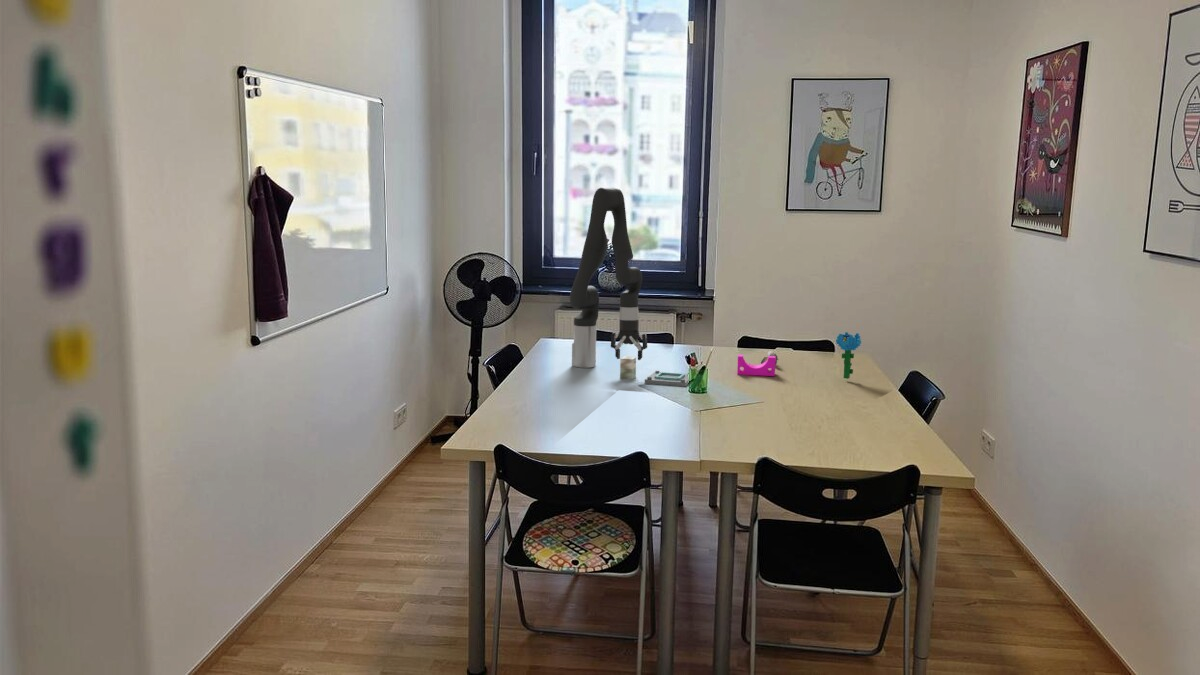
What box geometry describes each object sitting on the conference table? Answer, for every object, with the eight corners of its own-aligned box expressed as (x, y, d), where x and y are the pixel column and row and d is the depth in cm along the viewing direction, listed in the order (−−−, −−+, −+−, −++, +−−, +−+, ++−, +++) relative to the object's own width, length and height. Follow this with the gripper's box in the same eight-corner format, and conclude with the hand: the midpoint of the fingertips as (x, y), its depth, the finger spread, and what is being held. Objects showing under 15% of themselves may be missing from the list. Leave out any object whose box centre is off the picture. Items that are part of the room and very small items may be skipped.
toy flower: (831, 378, 359) (833, 333, 357) (840, 374, 367) (842, 331, 364) (853, 381, 354) (855, 336, 351) (861, 377, 361) (864, 333, 358)
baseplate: (644, 383, 345) (644, 377, 344) (654, 375, 360) (654, 370, 360) (685, 386, 340) (685, 380, 340) (694, 378, 355) (694, 372, 355)
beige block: (620, 378, 354) (620, 358, 353) (623, 376, 359) (623, 356, 357) (632, 379, 352) (632, 359, 351) (635, 377, 357) (636, 357, 356)
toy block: (774, 373, 370) (775, 355, 369) (774, 376, 364) (775, 357, 363) (737, 371, 372) (738, 353, 371) (737, 374, 366) (737, 356, 365)
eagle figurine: (772, 371, 386) (767, 373, 378) (761, 359, 388) (755, 360, 380) (785, 359, 384) (780, 361, 376) (774, 347, 386) (768, 348, 378)
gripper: (608, 318, 350) (608, 359, 353) (644, 320, 346) (644, 361, 348) (614, 316, 357) (614, 356, 360) (649, 317, 353) (648, 358, 355)
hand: (628, 359), depth 354 cm, fingers open, 8 cm apart
